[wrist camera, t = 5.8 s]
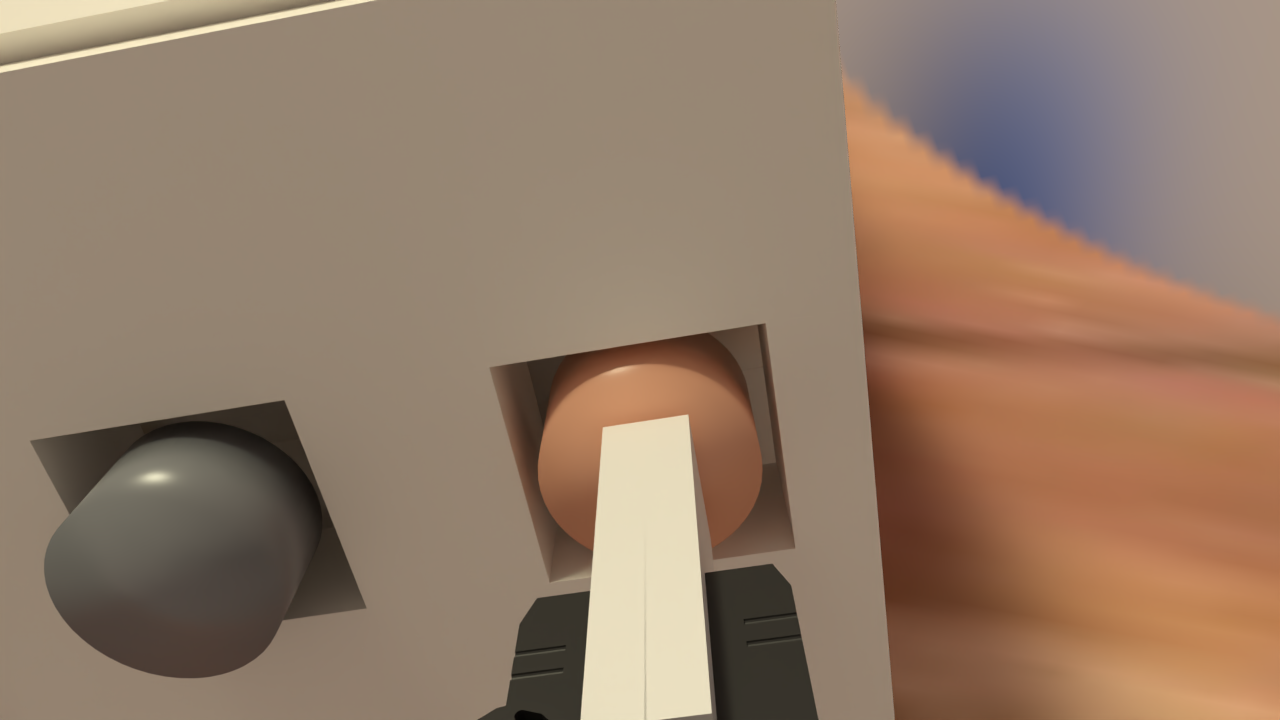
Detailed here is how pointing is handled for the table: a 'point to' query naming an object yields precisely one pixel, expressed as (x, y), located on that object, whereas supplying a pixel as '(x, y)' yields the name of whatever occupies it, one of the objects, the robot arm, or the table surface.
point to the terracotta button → (640, 391)
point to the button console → (420, 311)
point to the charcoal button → (186, 551)
